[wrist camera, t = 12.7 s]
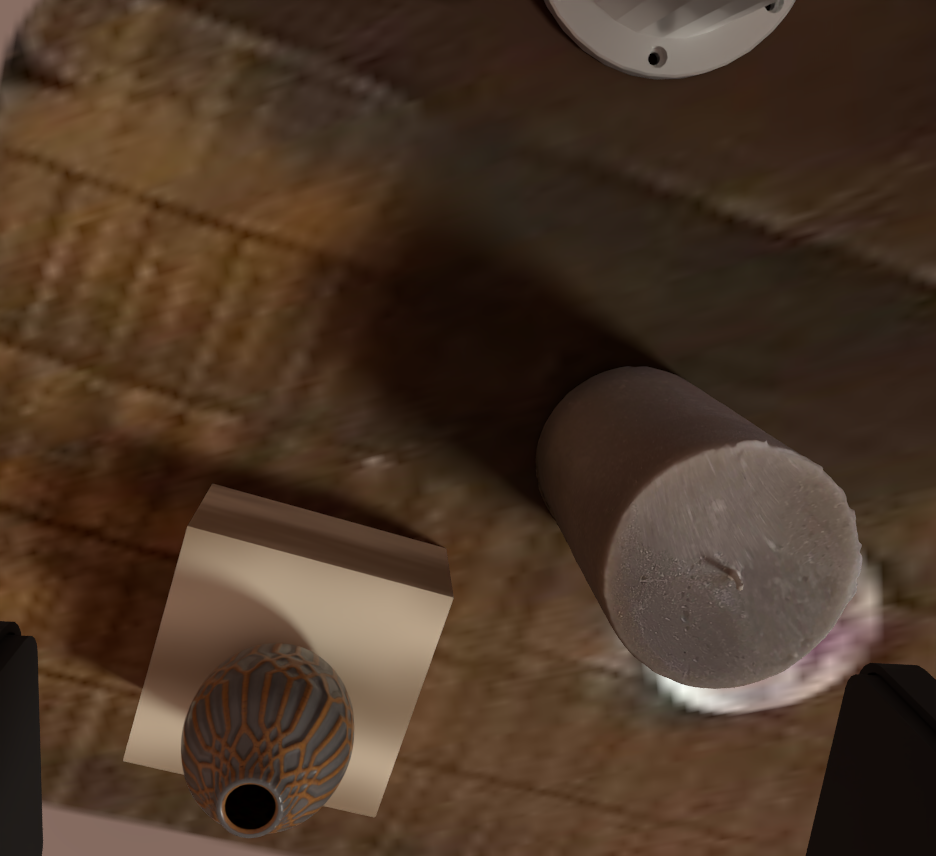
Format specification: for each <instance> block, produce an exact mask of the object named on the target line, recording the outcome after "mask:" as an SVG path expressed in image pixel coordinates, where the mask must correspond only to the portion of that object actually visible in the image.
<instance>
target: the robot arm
mask: <svg viewBox="0 0 936 856" xmlns="http://www.w3.org/2000/svg"><path fill="white" fill-rule="evenodd" d="M544 2H545V4H546V6H547V8H548V9H549V11H550V12H551V14H552V15H553V17H554V18H555V20H556V21H557V23H558V24H559V26H560V27H561V28H562V30H563V31H564V32H565V33H566V34H567V35H568V36H569V37H570V38H571V39H572V40H573V41H574V42H575V43H576V44H577V45H578V46H579V47H580V48H581V49H582V50H583V51H585V52H586V53H588V54H589V55H591V56H592V57H594V58H595V59H597V60H598V61H600V62H601V63H603V64H604V65H606V66H609V67H611V68H614V69H616V70H619V71H621V72H624V73H626V74H629V75H633V76H639V77H645V78H650V79H680V78H686V77H690V76H694V75H698V74H702V73H706V72H709V71H712V70H714V69H717V68H719V67H722V66H724V65H727V64H729V63H730V62H732V61H734V60H735V59H737V58H739V57H741V56H742V55H744V54H746V53H747V52H749V51H751V50H752V49H753V48H754V47H755V46H756V45H758V44H759V43H760V42H761V41H762V40H763V39H764V38H766V37H767V36H768V35H769V34H770V33H771V32H772V31H773V30H774V29H775V28H776V27H777V25H778V24H779V23H780V22H781V21H782V19H783V18H784V17H785V16H786V15H787V13H788V12H789V11H790V9H791V7H792V6H793V4H794V2H795V0H544ZM769 4H771V8H770V10H769V11H767V10H766V8H765V6H767V5H769ZM651 53H652V54H655V55H656V57H657V62H656V64H655V65H651V64H650V63H649V62H648V57H649V54H651ZM42 830H43V829H42V794H41V758H40V723H39V688H38V652H37V643H36V641H35V638H34V637H33V636H21V631H20V629H19V626H18V625H17V624H16V623H15V622H5V621H0V856H42V848H43V831H42ZM806 856H936V680H935V679H934V678H933V677H932V676H931V675H930V674H929V673H928V672H927V671H926V670H924V669H923V668H921V667H920V666H917V665H902V664H881V663H869V664H867V665H865V666H864V667H863V669H862V670H861V671H860V673H859V675H857V674H855V675H853V676H851V677H850V679H849V680H848V682H847V685H846V688H845V692H844V696H843V700H842V704H841V709H840V713H839V717H838V721H837V726H836V730H835V734H834V738H833V743H832V747H831V751H830V755H829V759H828V764H827V768H826V772H825V776H824V781H823V785H822V789H821V793H820V798H819V802H818V806H817V810H816V815H815V819H814V823H813V827H812V831H811V836H810V840H809V844H808V848H807V853H806Z"/></svg>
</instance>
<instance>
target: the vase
mask: <svg viewBox="0 0 936 856" xmlns="http://www.w3.org/2000/svg"><path fill="white" fill-rule="evenodd" d="M353 743H354V714H353V708H352V703H351V700H350V697H349V695H348V692H347V689H346V687H345V685H344V683H343V682H342V680H341V678H340V677H339V676H338V674H337V673H336V671H335V670H334V669H333V668H332V667H331V666H330V665H329V664H328V663H327V662H326V661H325V660H324V659H322V658H321V657H320V656H318V655H317V654H315V653H313V652H311V651H309V650H307V649H305V648H302V647H299V646H296V645H291V644H284V643H269V644H262V645H257V646H253V647H250V648H247V649H245V650H243V651H241V652H239V653H237V654H235V655H233V656H231V657H230V658H228V659H227V660H225V661H224V662H223V663H222V664H220V665H219V666H218V667H217V668H216V669H215V670H213V672H212V673H211V674H210V675H209V676H208V677H207V678H206V679H205V681H204V682H203V684H202V685H201V687H200V688H199V689H198V691H197V693H196V695H195V696H194V698H193V700H192V702H191V704H190V707H189V709H188V712H187V714H186V717H185V721H184V725H183V730H182V737H181V760H182V767H183V772H184V776H185V780H186V782H187V785H188V787H189V790H190V792H191V794H192V796H193V797H194V799H195V800H196V802H197V803H198V805H199V806H200V807H201V808H202V809H203V810H204V811H205V812H206V813H207V814H208V815H209V816H210V817H211V818H212V819H214V820H215V821H217V822H218V823H220V824H222V826H223V827H224V828H225V829H226V830H227V831H229V832H230V833H232V834H234V835H236V836H239V837H244V838H256V837H260V836H263V835H265V834H270V833H276V832H280V831H283V830H286V829H289V828H292V827H294V826H296V825H298V824H300V823H302V822H304V821H305V820H307V819H308V818H310V817H311V816H312V815H314V814H315V813H316V812H317V811H318V810H319V809H320V808H321V807H322V806H323V805H324V804H325V803H326V802H327V801H328V800H329V798H330V797H331V796H332V794H333V793H334V792H335V790H336V789H337V787H338V786H339V784H340V782H341V780H342V778H343V776H344V775H345V772H346V770H347V767H348V765H349V762H350V758H351V754H352V749H353Z"/></svg>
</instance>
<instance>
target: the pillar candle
mask: <svg viewBox="0 0 936 856" xmlns="http://www.w3.org/2000/svg"><path fill="white" fill-rule="evenodd" d="M536 453H537V454H536V457H535V460H536V475H537V476H536V477H537V479H538V480H539V482H538V485H539V490H540V493H541V496H542V497H543V500H544V502H545V504H546V506H547V508H548V509H549V511H550V513H551V515H552V517H554V518H555V520H556V521H557V525H558V526H559V528H560V530H561V532H562V533H563V535H564V537H565V539H566V541H567V543H568V545H569V547H570V549H571V551H572V553H573V556H574V558H575V560H576V562H577V563H578V565H579V567H580V568H581V570H582V572H583V574H584V576H585V578H586V580H587V582H588V584H589V586H590V587H591V589H592V591H593V593H594V595H595V597H596V599H597V600H598V603H599V604H600V606H601V608H602V610H603V612H604V614H605V615H606V617H607V619H608V621H609V623H610V625H611V626H612V628H613V630H614V631H615V633H616V634H617V636H618V638H619V639H620V640H621V642H622V643H623V644H624V646H625V647H626V648H627V649H628V651H629V652H630V653H631V654H632V655H633V656H634V657H635V658H637V659H638V660H639V661H641V662H642V663H643V664H645V665H646V666H647V667H649V668H650V669H651V670H652V671H654V672H655V673H657V674H659V675H662V676H664V677H667V678H669V679H672V680H674V681H676V682H678V683H681V684H684V685H688V686H692V687H700V688H713V689H718V688H732V687H733V688H735V687H739V686H744V685H747V684H751V683H755V682H758V681H761V680H764V679H766V678H768V677H771V676H774V675H776V674H778V673H781V672H782V671H784V670H786V669H788V668H789V667H790V666H792V665H793V664H795V663H796V662H797V661H799V660H800V659H802V657H804V656H805V655H807V654H809V653H810V651H811V650H812V649H814V648H815V647H816V645H817V644H819V643H820V642H821V641H822V640H823V639H824V638H825V637H826V635H827V634H828V633H829V632H830V630H832V629H833V627H834V625H835V624H836V622H837V620H838V618H839V617H840V616H841V614H842V612H843V610H844V608H845V607H846V605H847V603H848V602H849V601H850V600H852V597H854V595H855V593H856V590H857V583H856V579H857V578H858V577H859V574H860V571H861V565H862V556H861V554H860V552H859V551H860V549H861V544H860V543H859V541H858V534H857V529H856V523H855V520H856V516H855V510H852V509H850V508H849V506H848V503H847V501H846V495H845V493H844V491H843V489H841V488H840V487H839V486H837V484H836V483H835V482H834V481H833V480H832V479H831V478H830V477H829V476H828V475H827V474H826V473H825V472H824V471H823V468H822V467H821V466H820V465H818V464H816V463H814V462H812V461H811V460H809V459H808V458H806V457H805V456H802V455H800V454H799V453H797V452H796V451H794V450H793V449H791V448H789V447H788V446H786V445H784V444H783V443H781V442H779V441H778V440H777V439H775V438H774V437H772V436H770V435H769V434H767V433H766V432H764V431H763V430H761V429H760V428H758V427H757V426H755V425H753V424H752V423H751V422H749V421H748V420H746V419H745V418H743V417H741V416H740V415H738V414H737V413H735V412H734V411H733V410H731V409H730V408H728V407H727V406H725V405H724V404H722V403H720V402H718V401H717V400H715V399H714V398H712V397H711V396H709V395H708V394H706V393H705V392H703V391H702V390H700V389H699V388H697V387H696V386H694V385H692V384H691V383H689V382H688V381H686V380H684V379H683V378H681V377H679V376H677V375H675V374H671V373H669V372H666V371H663V370H659V369H655V368H651V367H648V366H641V367H630V366H626V367H619V368H615V369H612V370H608V371H605V372H602V373H600V374H597V375H596V376H593V377H591V378H589V379H588V380H586V381H584V382H583V383H581V384H580V385H578V386H577V387H575V388H574V389H573V390H572V391H570V392H569V393H568V394H567V395H566V396H565V397H564V398H563V399H562V400H561V401H560V403H559V404H558V405H557V406H556V407H555V409H554V410H553V412H552V413H551V415H550V416H549V418H548V420H547V421H546V423H545V425H544V427H543V429H542V432H541V435H540V438H539V441H538V444H537V450H536Z"/></svg>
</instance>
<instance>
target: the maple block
mask: <svg viewBox="0 0 936 856" xmlns="http://www.w3.org/2000/svg"><path fill="white" fill-rule="evenodd" d="M453 598H454V597H453V590H452V584H451V577H450V571H449V564H448V557H447V551H446V548H443V547H440V546H436V545H432V544H429V543H425V542H422V541H418V540H414V539H411V538H407V537H404V536H400V535H396V534H393V533H389V532H386V531H382V530H378V529H375V528H371V527H368V526H364V525H360V524H357V523H353V522H350V521H346V520H342V519H339V518H335V517H332V516H328V515H324V514H321V513H317V512H314V511H310V510H306V509H303V508H299V507H296V506H292V505H288V504H285V503H281V502H278V501H274V500H270V499H267V498H263V497H260V496H256V495H252V494H249V493H245V492H242V491H238V490H234V489H231V488H227V487H223V486H220V485H216V484H213V483H212V485H211V487H210V488H209V490H208V492H207V494H206V495H205V497H204V499H203V500H202V502H201V504H200V506H199V507H198V509H197V511H196V512H195V514H194V516H193V517H192V519H191V521H190V523H189V524H188V526H187V530H186V533H185V537H184V540H183V544H182V548H181V551H180V555H179V559H178V562H177V566H176V570H175V573H174V577H173V581H172V584H171V588H170V591H169V595H168V599H167V602H166V606H165V610H164V613H163V617H162V621H161V624H160V628H159V632H158V635H157V639H156V642H155V646H154V650H153V653H152V657H151V661H150V664H149V668H148V672H147V675H146V679H145V682H144V686H143V690H142V693H141V697H140V701H139V704H138V708H137V712H136V715H135V719H134V723H133V726H132V730H131V733H130V737H129V741H128V744H127V748H126V752H125V755H124V759H123V761H125V762H130V763H134V764H139V765H143V766H148V767H152V768H157V769H161V770H166V771H170V772H175V773H179V774H183V775H184V772H183V767H182V760H181V737H182V730H183V725H184V721H185V717H186V714H187V712H188V709H189V707H190V704H191V702H192V700H193V698H194V696H195V695H196V693H197V691H198V689H199V688H200V687H201V685H202V684H203V682H204V681H205V679H206V678H207V677H208V676H209V675H210V674H211V673H212V672H213V670H215V669H216V668H217V667H218V666H219V665H220V664H222V663H223V662H224V661H225V660H227V659H228V658H230V657H231V656H233V655H235V654H237V653H239V652H241V651H243V650H245V649H247V648H250V647H253V646H257V645H262V644H269V643H284V644H291V645H296V646H299V647H302V648H305V649H307V650H309V651H311V652H313V653H315V654H317V655H318V656H320V657H321V658H322V659H324V660H325V661H326V662H327V663H328V664H329V665H330V666H331V667H332V668H333V669H334V670H335V671H336V673H337V674H338V676H339V677H340V678H341V680H342V682H343V683H344V685H345V687H346V689H347V692H348V695H349V697H350V700H351V703H352V708H353V714H354V743H353V749H352V754H351V758H350V762H349V765H348V767H347V770H346V772H345V775H344V776H343V778H342V780H341V782H340V784H339V786H338V787H337V789H336V790H335V792H334V793H333V794H332V796H331V797H330V798H329V800H328V801H327V802H326V803H325V804H324V805H323V806H326V807H331V808H335V809H340V810H344V811H348V812H353V813H357V814H362V815H366V816H371V817H375V816H376V814H377V811H378V808H379V805H380V802H381V800H382V797H383V794H384V791H385V788H386V786H387V783H388V780H389V777H390V774H391V772H392V769H393V766H394V763H395V760H396V758H397V755H398V752H399V749H400V746H401V744H402V741H403V738H404V735H405V732H406V730H407V727H408V724H409V721H410V718H411V716H412V713H413V710H414V707H415V704H416V702H417V699H418V696H419V693H420V690H421V688H422V685H423V682H424V679H425V676H426V674H427V671H428V668H429V665H430V662H431V660H432V657H433V654H434V651H435V648H436V646H437V643H438V640H439V637H440V634H441V632H442V629H443V626H444V623H445V620H446V618H447V615H448V612H449V609H450V606H451V604H452V601H453Z"/></svg>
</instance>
